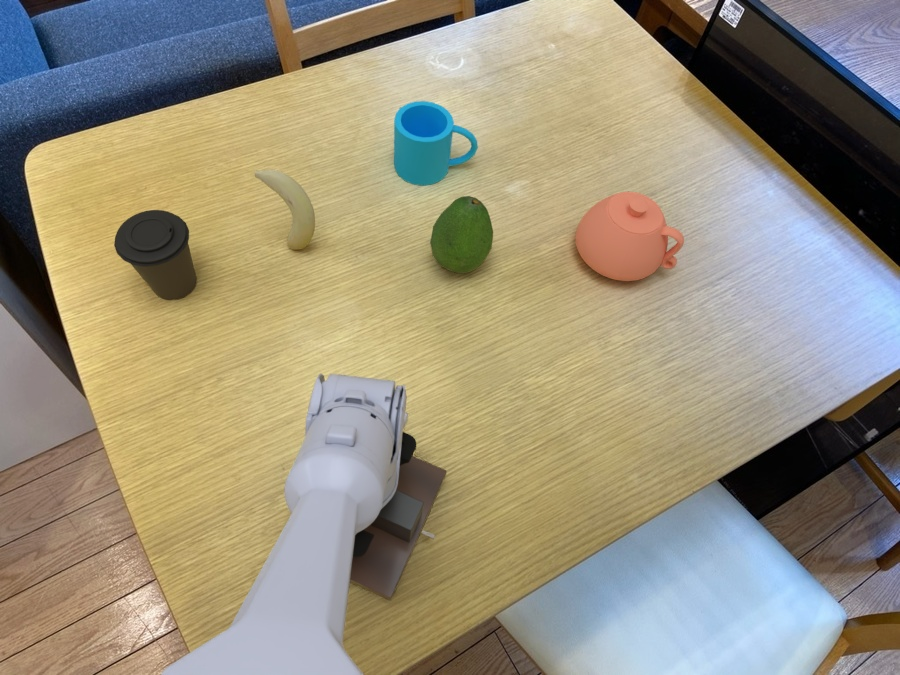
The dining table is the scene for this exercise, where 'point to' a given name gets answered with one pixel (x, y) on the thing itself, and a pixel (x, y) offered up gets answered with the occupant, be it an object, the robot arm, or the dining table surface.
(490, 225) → the fruit
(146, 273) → the coffee cup
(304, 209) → the fruit
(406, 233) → the dining table surface
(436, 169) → the mug
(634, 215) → the sugar bowl
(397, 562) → the brown pegged board
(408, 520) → the gray bar
